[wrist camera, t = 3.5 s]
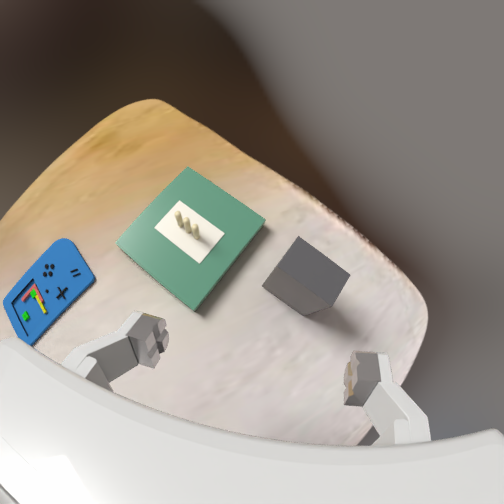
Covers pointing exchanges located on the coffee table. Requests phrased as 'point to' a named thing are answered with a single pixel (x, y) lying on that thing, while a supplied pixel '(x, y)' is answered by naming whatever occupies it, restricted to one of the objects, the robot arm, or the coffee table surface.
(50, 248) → the handheld gaming device
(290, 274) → the block
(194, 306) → the board
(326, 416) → the coffee table surface
